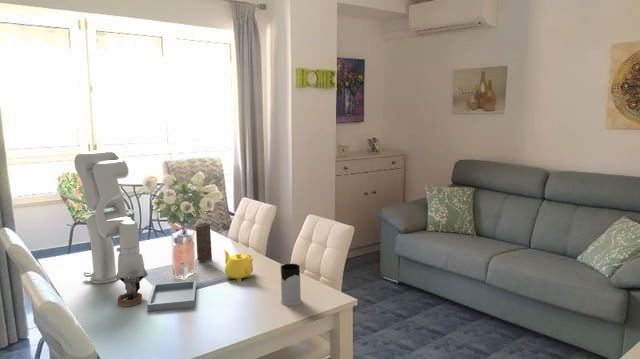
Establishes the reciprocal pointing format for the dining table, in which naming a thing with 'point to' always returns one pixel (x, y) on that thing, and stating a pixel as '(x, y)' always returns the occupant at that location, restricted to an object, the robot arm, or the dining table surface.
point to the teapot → (238, 266)
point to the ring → (135, 295)
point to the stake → (129, 287)
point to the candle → (203, 242)
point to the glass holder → (290, 285)
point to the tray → (172, 296)
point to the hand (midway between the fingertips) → (132, 290)
